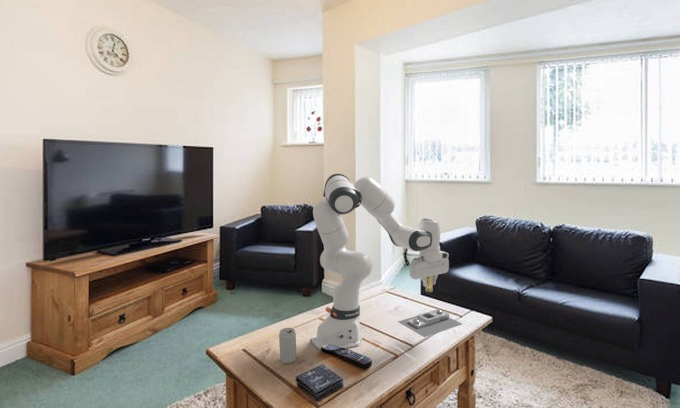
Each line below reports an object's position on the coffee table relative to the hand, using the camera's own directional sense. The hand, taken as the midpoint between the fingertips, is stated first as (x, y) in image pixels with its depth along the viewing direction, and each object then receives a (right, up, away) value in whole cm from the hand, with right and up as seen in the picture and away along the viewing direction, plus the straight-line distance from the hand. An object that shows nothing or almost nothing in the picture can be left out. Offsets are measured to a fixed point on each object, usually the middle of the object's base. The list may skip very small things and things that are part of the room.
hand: (429, 285), depth 161 cm
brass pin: (0, -3, 0) cm, 3 cm away
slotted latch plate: (+2, -20, +11) cm, 23 cm away
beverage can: (-60, -25, -20) cm, 68 cm away
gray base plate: (+3, -20, +9) cm, 22 cm away
